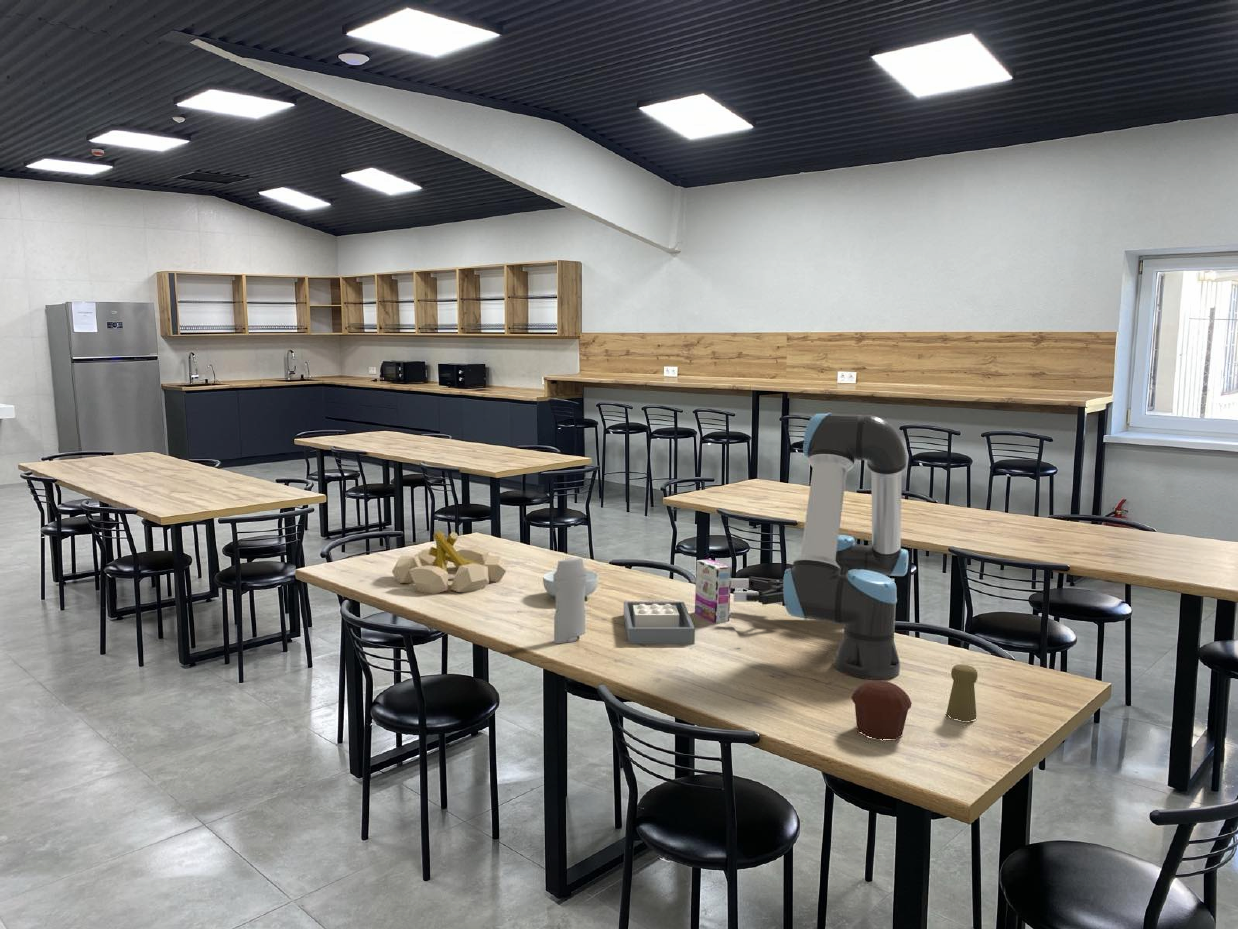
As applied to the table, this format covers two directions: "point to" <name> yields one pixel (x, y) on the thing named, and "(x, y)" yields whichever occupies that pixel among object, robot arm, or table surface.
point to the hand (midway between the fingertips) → (729, 589)
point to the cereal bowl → (589, 585)
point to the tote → (659, 634)
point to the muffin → (881, 709)
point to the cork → (963, 693)
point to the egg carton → (655, 615)
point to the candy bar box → (712, 590)
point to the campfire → (432, 570)
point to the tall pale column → (569, 600)
